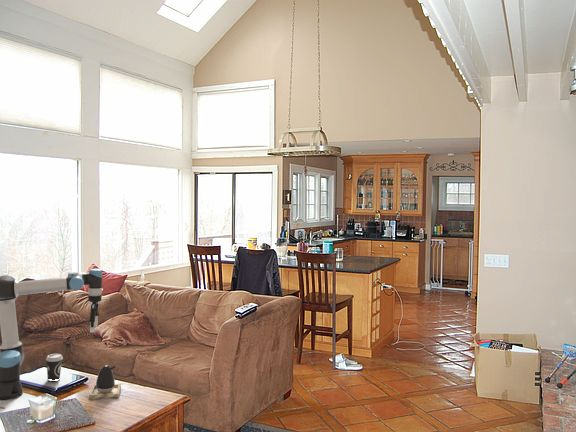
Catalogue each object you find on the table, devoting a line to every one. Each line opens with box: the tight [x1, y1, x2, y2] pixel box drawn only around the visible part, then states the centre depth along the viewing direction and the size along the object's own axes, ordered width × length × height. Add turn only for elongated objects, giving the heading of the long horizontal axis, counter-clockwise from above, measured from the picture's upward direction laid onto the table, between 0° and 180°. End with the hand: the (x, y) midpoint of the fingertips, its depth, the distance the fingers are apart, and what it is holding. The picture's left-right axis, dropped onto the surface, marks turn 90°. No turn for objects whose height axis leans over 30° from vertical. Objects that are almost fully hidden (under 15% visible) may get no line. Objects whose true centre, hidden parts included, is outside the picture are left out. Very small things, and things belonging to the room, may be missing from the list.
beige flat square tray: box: [88, 383, 122, 401], centre depth 297 cm, size 16×16×2 cm
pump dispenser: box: [95, 365, 116, 393], centre depth 297 cm, size 10×10×15 cm
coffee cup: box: [45, 353, 64, 380], centre depth 313 cm, size 10×10×15 cm
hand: (93, 329), depth 314 cm, fingers open, 13 cm apart
